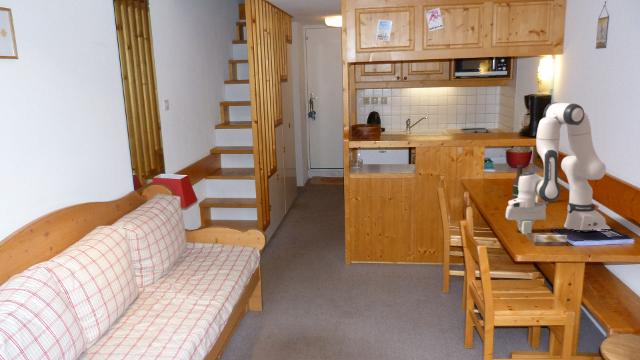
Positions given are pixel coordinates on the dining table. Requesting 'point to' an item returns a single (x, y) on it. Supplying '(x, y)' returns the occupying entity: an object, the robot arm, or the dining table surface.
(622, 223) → the dining table surface
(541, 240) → the shelf
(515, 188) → the beer bottle
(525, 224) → the carton
